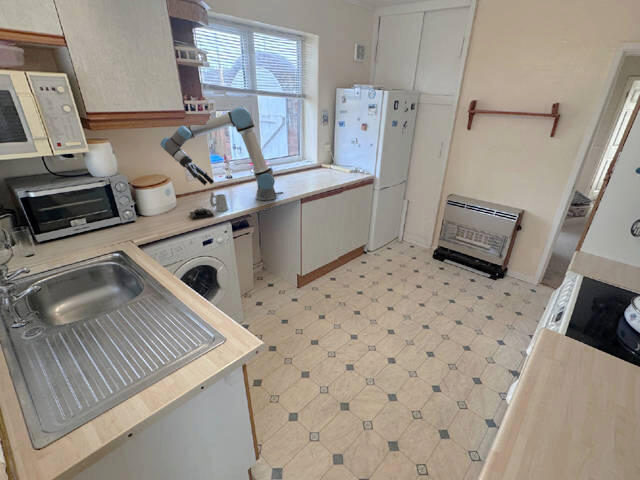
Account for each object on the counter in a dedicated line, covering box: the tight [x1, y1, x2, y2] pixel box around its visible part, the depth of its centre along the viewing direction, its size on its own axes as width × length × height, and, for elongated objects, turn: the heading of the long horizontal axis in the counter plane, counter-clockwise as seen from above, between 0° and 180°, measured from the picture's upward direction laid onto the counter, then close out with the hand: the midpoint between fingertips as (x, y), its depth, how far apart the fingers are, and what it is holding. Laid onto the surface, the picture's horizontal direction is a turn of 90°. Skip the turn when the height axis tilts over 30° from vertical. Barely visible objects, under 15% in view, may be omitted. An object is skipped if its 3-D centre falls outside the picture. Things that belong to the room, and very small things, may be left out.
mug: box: [209, 191, 229, 212], centre depth 213 cm, size 8×12×12 cm, turn 80°
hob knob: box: [196, 206, 205, 211], centre depth 201 cm, size 4×4×2 cm
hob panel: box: [189, 207, 214, 221], centre depth 202 cm, size 12×10×4 cm
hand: (209, 183), depth 209 cm, fingers open, 13 cm apart
